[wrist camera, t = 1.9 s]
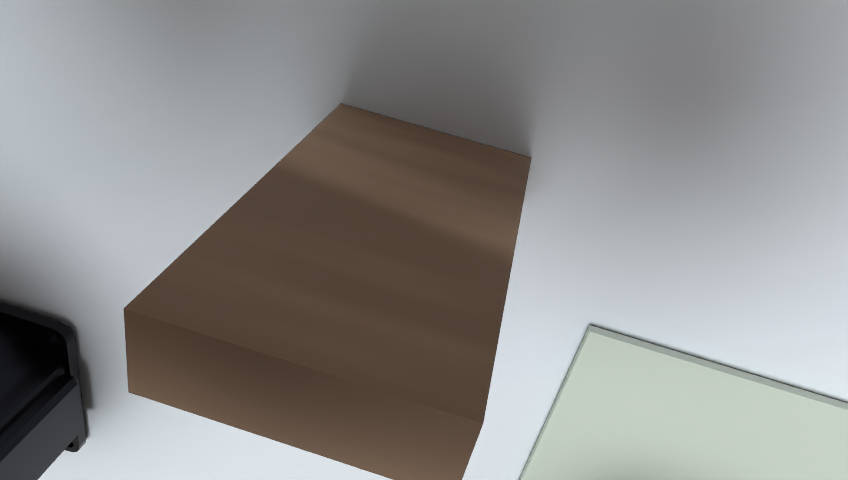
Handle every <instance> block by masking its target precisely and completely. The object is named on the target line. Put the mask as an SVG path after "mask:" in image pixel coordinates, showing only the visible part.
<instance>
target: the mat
mask: <svg viewBox="0 0 848 480" xmlns="http://www.w3.org/2000/svg"><path fill="white" fill-rule="evenodd" d="M519 480H848V403H845V402H842V401H838V400H835V399H832V398H828V397H825V396H822V395H818V394H815V393H812V392H809V391H805V390H802V389H799V388H795V387H792V386H789V385H786V384H782V383H779V382H776V381H772V380H769V379H766V378H762V377H759V376H756V375H753V374H749V373H746V372H743V371H739V370H736V369H733V368H730V367H726V366H723V365H720V364H716V363H713V362H710V361H706V360H703V359H700V358H697V357H693V356H690V355H687V354H683V353H680V352H677V351H674V350H670V349H667V348H664V347H660V346H657V345H654V344H650V343H647V342H644V341H641V340H637V339H634V338H631V337H627V336H624V335H621V334H618V333H614V332H611V331H608V330H604V329H601V328H598V327H594V326H591V325H589V327H588V329H587V332H586V334H585V336H584V338H583V340H582V343H581V345H580V347H579V349H578V351H577V354H576V356H575V358H574V360H573V362H572V365H571V367H570V369H569V371H568V373H567V376H566V378H565V380H564V382H563V384H562V386H561V389H560V391H559V393H558V395H557V397H556V400H555V402H554V404H553V406H552V408H551V411H550V413H549V415H548V417H547V419H546V422H545V424H544V426H543V428H542V430H541V433H540V435H539V437H538V439H537V441H536V444H535V446H534V448H533V450H532V452H531V455H530V457H529V459H528V461H527V463H526V465H525V468H524V470H523V472H522V474H521V476H520V479H519Z"/></svg>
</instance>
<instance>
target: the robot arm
mask: <svg viewBox="0 0 848 480" xmlns="http://www.w3.org/2000/svg"><path fill="white" fill-rule="evenodd" d="M85 442H86V433H85V425H84V416H83V407H82V398H81V389H80V380H79V372H78V363H77V354H76V345H75V336H74V333H73V331H72V330H71V329H70V327H68V326H67V325H66V324H64V323H62V322H60V321H57V320H54V319H51V318H48V317H45V316H42V315H39V314H36V313H32V312H29V311H26V310H23V309H20V308H17V307H14V306H11V305H8V304H5V303H2V302H0V480H38V478H39V477H40V476H41V475H42V474H43V473H44V472H45V471H46V470H47V468H48V467H49V466H50V465H51V464H52V463H53V462H54V461H55V460H56V459H57V457H58V456H59V455H60V454H61V453H62V452H63V451H64V450H67V451H70V452H77V451H78V450H79V449H80V448H81V447H82V446H83V445H84V443H85Z"/></svg>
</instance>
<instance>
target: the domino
mask: <svg viewBox="0 0 848 480" xmlns="http://www.w3.org/2000/svg"><path fill="white" fill-rule="evenodd" d="M530 162H531V158H530V157H527V156H523V155H520V154H516V153H513V152H509V151H506V150H502V149H499V148H495V147H491V146H488V145H484V144H481V143H477V142H474V141H470V140H467V139H463V138H460V137H456V136H453V135H449V134H446V133H442V132H439V131H435V130H432V129H428V128H425V127H421V126H418V125H414V124H411V123H407V122H404V121H400V120H397V119H393V118H390V117H386V116H383V115H379V114H376V113H372V112H369V111H365V110H362V109H358V108H355V107H351V106H348V105H344V104H340V105H339V106H338V107H337V108H336V109H335V110H333V111H332V112H331V113H330V114H329V115H328V116H327V117H326V118H325V119H324V120H323V121H322V122H321V123H320V124H319V125H318V126H317V127H315V128H314V129H313V130H312V131H311V132H310V133H309V134H308V135H307V136H306V137H305V138H304V139H303V140H302V141H301V142H300V143H299V144H297V145H296V146H295V147H294V148H293V149H292V150H291V151H290V152H289V153H288V154H287V155H286V156H285V157H284V158H283V159H282V160H281V161H279V162H278V163H277V164H276V165H275V166H274V167H273V168H272V169H271V170H270V171H269V172H268V173H267V174H266V175H265V176H264V177H263V178H261V179H260V180H259V181H258V182H257V183H256V184H255V185H254V186H253V187H252V188H251V189H250V190H249V191H248V192H247V193H246V194H245V195H243V196H242V197H241V198H240V199H239V200H238V201H237V202H236V203H235V204H234V205H233V206H232V207H231V208H230V209H229V210H228V211H227V212H226V213H224V214H223V215H222V216H221V217H220V218H219V219H218V220H217V221H216V222H215V223H214V224H213V225H212V226H211V227H210V228H209V229H208V230H206V231H205V232H204V233H203V234H202V235H201V236H200V237H199V238H198V239H197V240H196V241H195V242H194V243H193V244H192V245H191V246H190V247H188V248H187V249H186V250H185V251H184V252H183V253H182V254H181V255H180V256H179V257H178V258H177V259H176V260H175V261H174V262H173V263H172V264H170V265H169V266H168V267H167V268H166V269H165V270H164V271H163V272H162V273H161V274H160V275H159V276H158V277H157V278H156V279H155V280H154V281H152V282H151V283H150V284H149V285H148V286H147V287H146V288H145V289H144V290H143V291H142V292H141V293H140V294H139V295H138V296H137V297H136V298H135V299H133V300H132V301H131V302H130V303H129V304H128V305H127V306H126V307H125V308H124V321H125V339H126V357H127V374H128V392H130V393H133V394H136V395H139V396H142V397H145V398H148V399H151V400H154V401H157V402H160V403H163V404H166V405H169V406H172V407H175V408H178V409H181V410H184V411H187V412H190V413H193V414H196V415H199V416H202V417H206V418H209V419H212V420H215V421H218V422H221V423H224V424H227V425H230V426H233V427H236V428H239V429H242V430H245V431H248V432H251V433H254V434H257V435H260V436H263V437H266V438H269V439H272V440H275V441H278V442H281V443H284V444H287V445H290V446H293V447H296V448H299V449H302V450H305V451H309V452H312V453H315V454H318V455H321V456H324V457H327V458H330V459H333V460H336V461H339V462H342V463H345V464H348V465H351V466H354V467H357V468H360V469H363V470H366V471H369V472H372V473H375V474H378V475H381V476H384V477H387V478H390V479H393V480H462V478H463V475H464V472H465V470H466V467H467V465H468V462H469V459H470V457H471V454H472V451H473V449H474V446H475V443H476V441H477V438H478V436H479V433H480V430H481V428H482V425H483V421H484V416H485V410H486V405H487V399H488V394H489V388H490V383H491V377H492V372H493V366H494V361H495V355H496V350H497V344H498V338H499V333H500V327H501V322H502V316H503V311H504V305H505V300H506V294H507V289H508V283H509V278H510V272H511V267H512V261H513V256H514V250H515V245H516V239H517V234H518V228H519V223H520V217H521V212H522V206H523V201H524V195H525V190H526V184H527V179H528V173H529V168H530Z"/></svg>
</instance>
